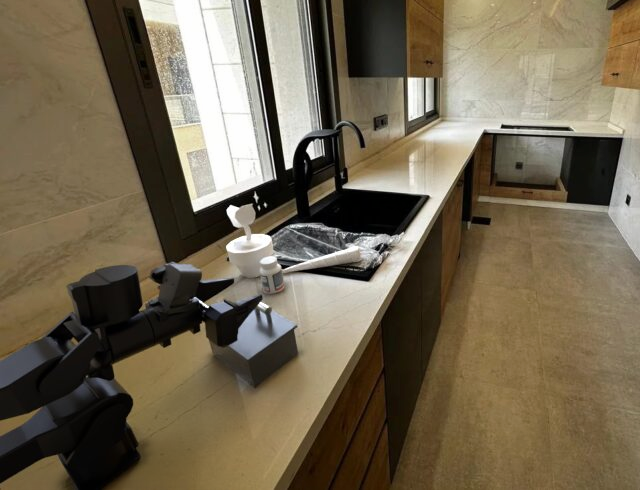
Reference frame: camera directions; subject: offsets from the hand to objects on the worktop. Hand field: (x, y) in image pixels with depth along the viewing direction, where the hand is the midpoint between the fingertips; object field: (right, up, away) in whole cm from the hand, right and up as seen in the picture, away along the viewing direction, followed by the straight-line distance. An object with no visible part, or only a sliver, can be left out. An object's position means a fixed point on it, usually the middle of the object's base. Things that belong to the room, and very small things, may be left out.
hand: (247, 288), depth 62 cm
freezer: (-1, -15, +5) cm, 16 cm away
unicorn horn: (+3, -3, +37) cm, 37 cm away
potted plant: (-16, -4, +34) cm, 38 cm away
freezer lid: (-1, -9, +3) cm, 10 cm away
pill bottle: (-7, -7, +27) cm, 28 cm away
